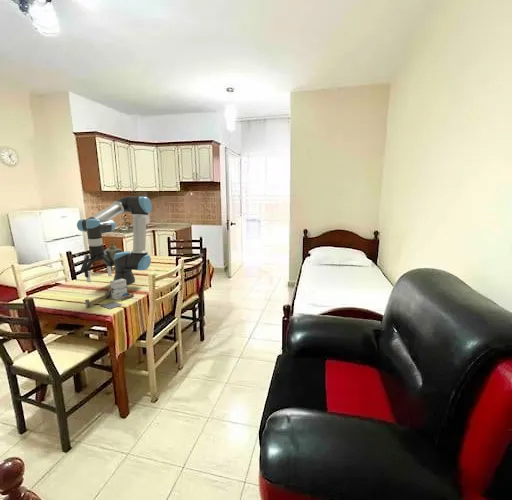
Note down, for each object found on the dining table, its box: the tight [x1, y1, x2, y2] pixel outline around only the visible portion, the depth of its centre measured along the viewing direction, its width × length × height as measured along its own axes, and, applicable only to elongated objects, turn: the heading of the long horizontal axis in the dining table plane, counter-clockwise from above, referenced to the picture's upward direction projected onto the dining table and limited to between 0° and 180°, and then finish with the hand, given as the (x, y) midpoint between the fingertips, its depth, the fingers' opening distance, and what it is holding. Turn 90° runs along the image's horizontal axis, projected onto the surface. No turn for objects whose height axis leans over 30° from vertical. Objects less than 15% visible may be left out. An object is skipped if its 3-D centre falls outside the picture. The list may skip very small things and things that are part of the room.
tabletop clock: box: [103, 240, 124, 270], centre depth 264 cm, size 14×9×25 cm, turn 145°
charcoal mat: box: [100, 301, 123, 310], centre depth 186 cm, size 8×9×1 cm
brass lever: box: [84, 290, 110, 309], centre depth 189 cm, size 3×19×4 cm, turn 166°
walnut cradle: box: [104, 288, 135, 302], centre depth 198 cm, size 13×14×5 cm
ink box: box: [109, 279, 128, 301], centre depth 198 cm, size 8×5×12 cm, turn 142°
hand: (99, 279), depth 185 cm, fingers open, 13 cm apart
